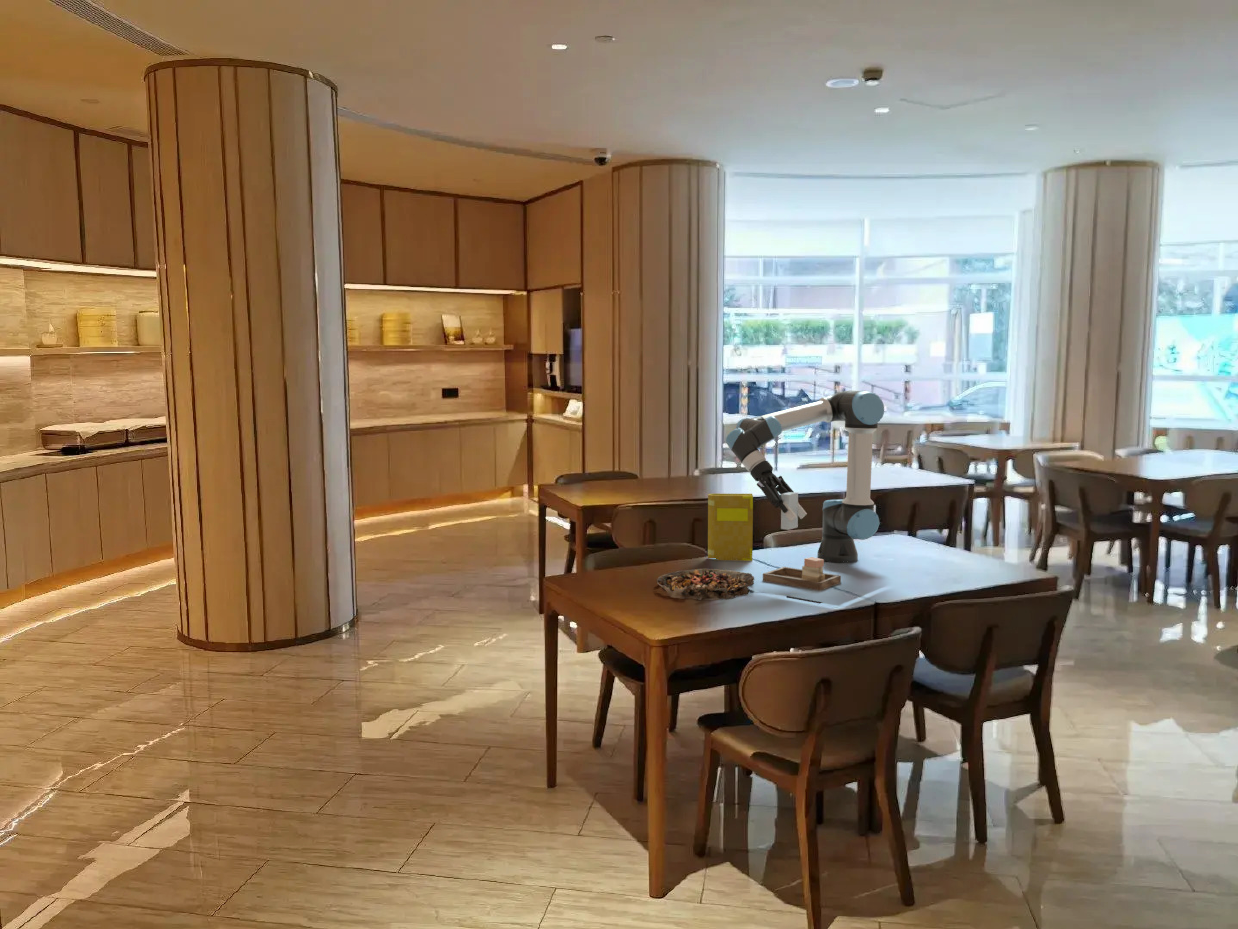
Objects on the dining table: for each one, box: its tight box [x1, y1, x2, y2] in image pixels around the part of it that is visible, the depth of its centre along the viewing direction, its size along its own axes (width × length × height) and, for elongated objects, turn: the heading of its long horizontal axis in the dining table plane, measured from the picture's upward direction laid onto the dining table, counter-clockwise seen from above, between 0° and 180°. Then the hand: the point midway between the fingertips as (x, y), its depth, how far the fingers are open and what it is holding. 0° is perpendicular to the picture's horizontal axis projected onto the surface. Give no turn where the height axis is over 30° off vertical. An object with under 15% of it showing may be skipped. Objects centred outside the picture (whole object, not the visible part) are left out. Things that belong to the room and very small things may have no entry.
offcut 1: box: [803, 556, 825, 568], centre depth 323 cm, size 4×5×2 cm
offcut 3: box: [802, 575, 825, 582], centre depth 323 cm, size 5×6×3 cm
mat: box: [786, 595, 823, 604], centre depth 310 cm, size 12×12×1 cm
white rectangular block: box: [780, 491, 799, 531], centre depth 327 cm, size 6×3×12 cm, turn 139°
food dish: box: [656, 567, 755, 601], centre depth 323 cm, size 35×33×8 cm
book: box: [707, 493, 754, 562], centre depth 368 cm, size 17×7×25 cm, turn 84°
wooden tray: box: [762, 566, 842, 591], centre depth 326 cm, size 14×22×4 cm, turn 49°
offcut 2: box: [801, 565, 824, 577], centre depth 323 cm, size 4×6×3 cm
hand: (798, 517), depth 325 cm, fingers closed on white rectangular block, 6 cm apart
